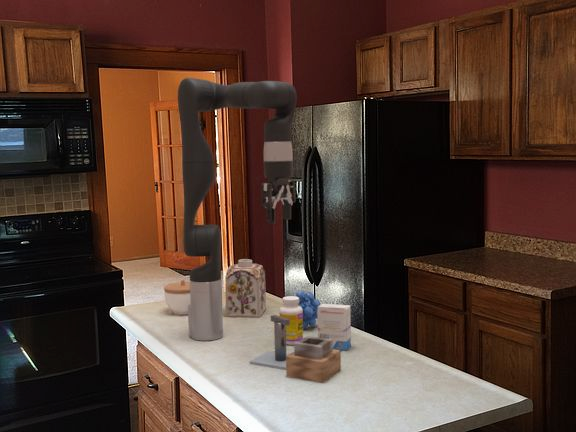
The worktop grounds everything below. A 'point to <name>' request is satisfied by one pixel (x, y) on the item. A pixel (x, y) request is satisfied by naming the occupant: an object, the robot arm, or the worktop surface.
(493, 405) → the worktop surface
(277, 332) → the chuck key
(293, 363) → the block
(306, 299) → the grapes
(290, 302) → the supplement bottle
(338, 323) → the ink box
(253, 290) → the decorative jar
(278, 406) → the worktop surface
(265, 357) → the mat
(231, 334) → the worktop surface
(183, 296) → the lidded bowl
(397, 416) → the worktop surface
